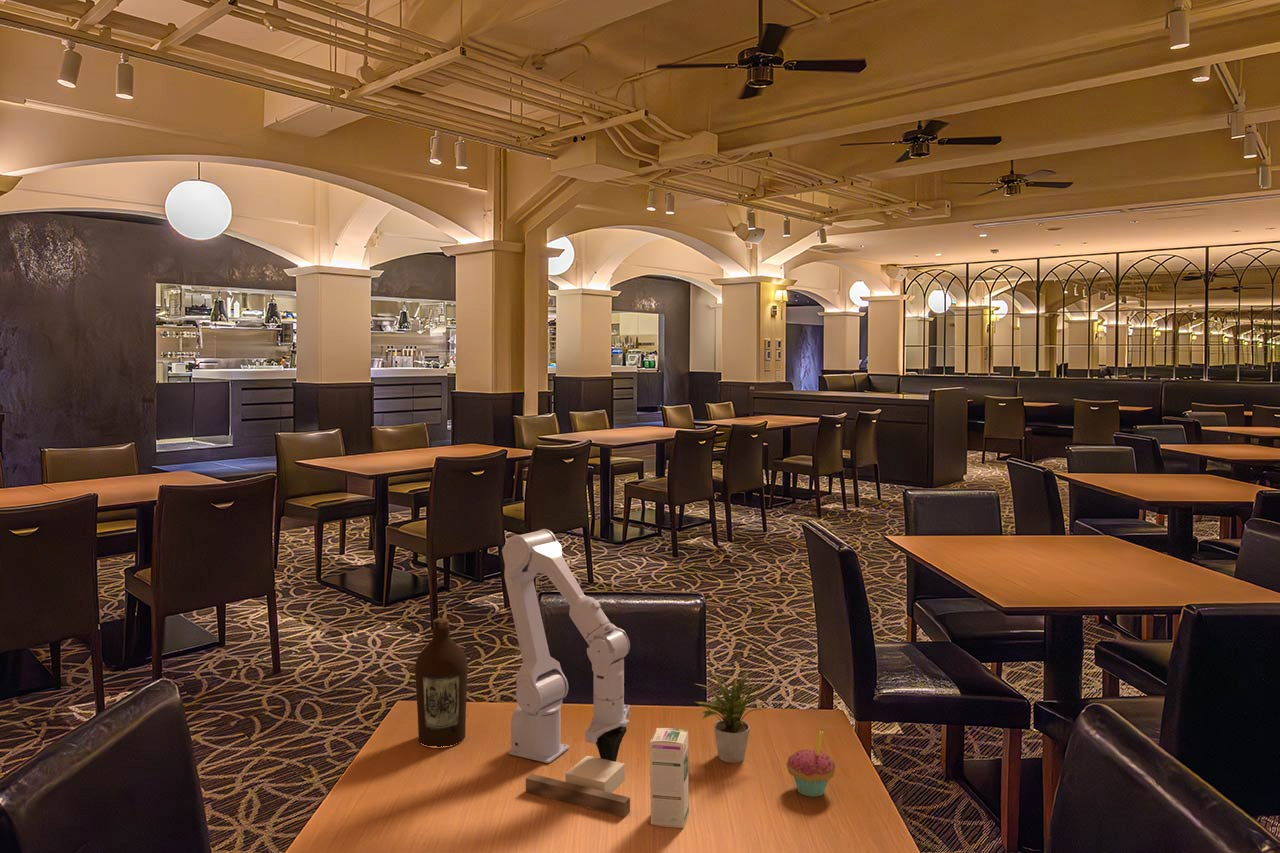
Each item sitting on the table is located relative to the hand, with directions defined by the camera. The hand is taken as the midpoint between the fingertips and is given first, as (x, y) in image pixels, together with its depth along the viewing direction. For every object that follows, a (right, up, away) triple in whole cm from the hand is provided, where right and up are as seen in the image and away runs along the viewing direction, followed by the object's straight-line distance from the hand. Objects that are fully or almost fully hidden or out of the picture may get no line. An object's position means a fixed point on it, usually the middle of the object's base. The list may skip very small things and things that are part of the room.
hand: (608, 765), depth 156 cm
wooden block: (-2, -2, -5) cm, 6 cm away
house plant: (+24, -1, +8) cm, 26 cm away
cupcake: (+37, -2, -7) cm, 37 cm away
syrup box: (+11, -2, -16) cm, 20 cm away
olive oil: (-35, -1, +15) cm, 38 cm away
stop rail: (-5, -2, -11) cm, 12 cm away
